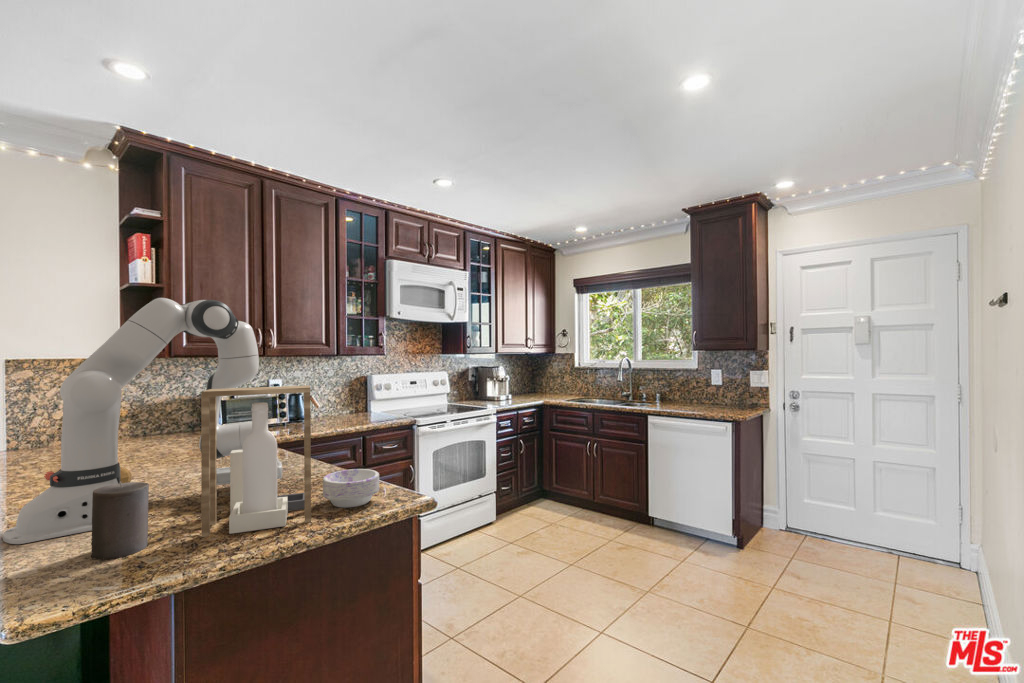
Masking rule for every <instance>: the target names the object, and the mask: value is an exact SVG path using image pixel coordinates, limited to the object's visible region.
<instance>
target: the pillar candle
mask: <svg viewBox="0 0 1024 683" xmlns="http://www.w3.org/2000/svg"><path fill="white" fill-rule="evenodd" d="M149 486H150V484H149V483H148V482H142V481H130V482H129V483H121V481H120V484H113V485H108V486H104V487H100V488H97V489H95V490H94V491H93V499H92V530H91V539H90V540H91V543H90V546H91V555H90V558H92V559H94V560H98V561H99V560H112V559H117V558H123V557H126V556H130V555H132V554H137V553H138V552H141V551H143V550H145V549H146V548H147V547H148V543H149V542H148V540H149V539H148V537H149V494H150V493H149V489H150V488H149Z"/></svg>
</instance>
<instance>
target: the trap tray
mask: <svg viewBox="0 0 1024 683" xmlns="http://www.w3.org/2000/svg"><path fill="white" fill-rule="evenodd" d="M287 496H288V512H291V511H299V510H305V494H304V492H300V493H299V492H296V493H289V494H280V495H277V498H279V497H287Z"/></svg>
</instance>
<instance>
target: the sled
mask: <svg viewBox="0 0 1024 683" xmlns="http://www.w3.org/2000/svg"><path fill="white" fill-rule="evenodd" d="M229 467H230V484H229V487H230V492H229V494H230V495H229V496H230V498H229V499H230V500H229V504H230V505H229V508H230V510H229V513H230V515H229V518H228V519H229V520H228V522H229V523H228V530H229V531H228V533H229V535H230V534H238V533H246V532H252V531H260V530H267V529H273V528H280V527H286V526H287V519H288V512H289V511H288V496H287V497H279V498H277V507H278V509H276V510H269V511H261V512H253V513H245V514H242V512H243V450H232V451H231V453H230V455H229Z"/></svg>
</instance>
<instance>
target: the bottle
mask: <svg viewBox="0 0 1024 683" xmlns="http://www.w3.org/2000/svg"><path fill="white" fill-rule="evenodd" d="M250 410H251V421H252V432H251V433H250V434H249V435H248V436H247V437H246V438H245V441H244V443H243V512H242V514H245V513H253V512H261V511H269V510H276V509H278V507H277V496H278V479H277V457H278V442H277V439H276V437H275V435H274V434H273V433H272V432H271V431H270V430H269V403H268V402H253V403H252V404H251V409H250Z"/></svg>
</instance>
